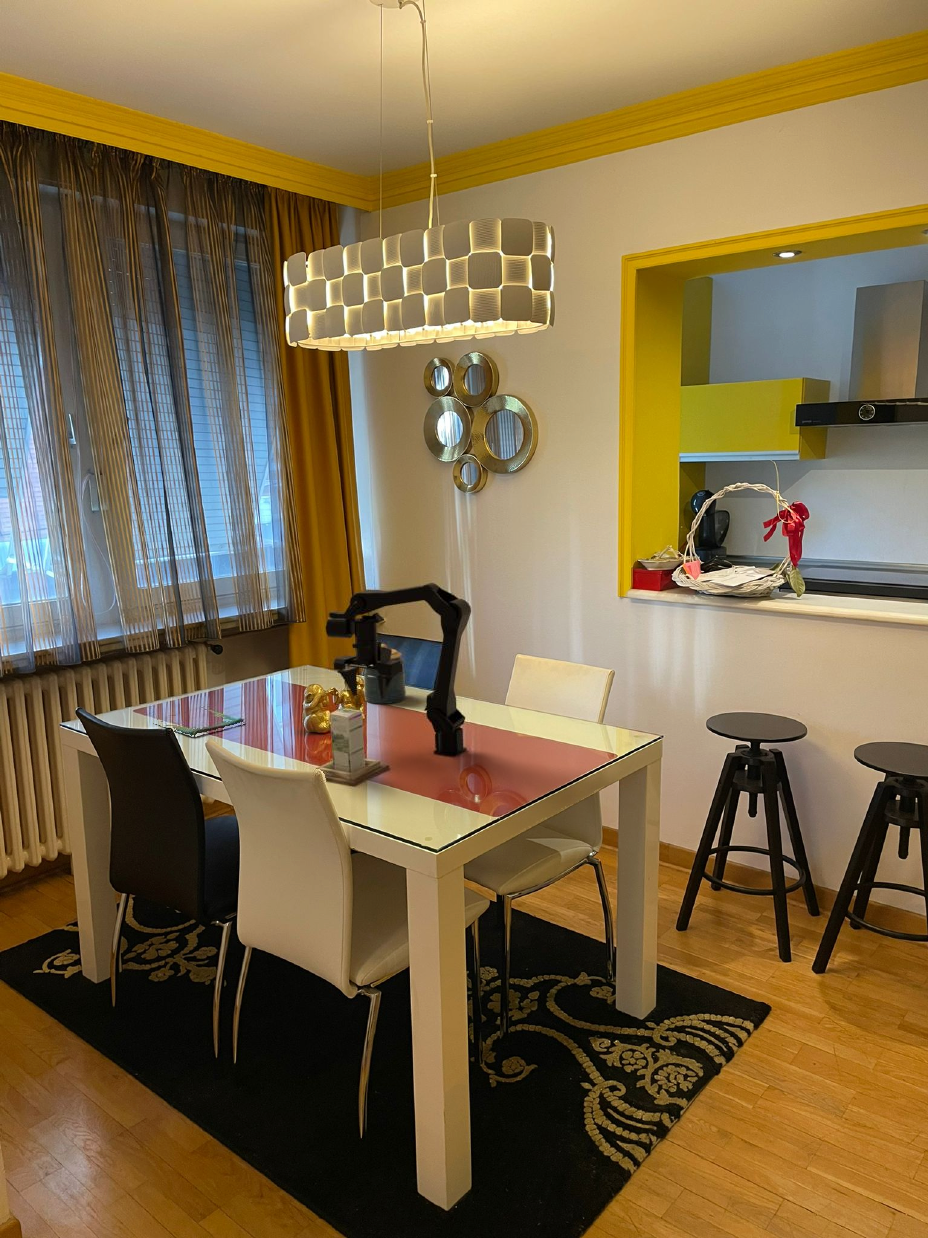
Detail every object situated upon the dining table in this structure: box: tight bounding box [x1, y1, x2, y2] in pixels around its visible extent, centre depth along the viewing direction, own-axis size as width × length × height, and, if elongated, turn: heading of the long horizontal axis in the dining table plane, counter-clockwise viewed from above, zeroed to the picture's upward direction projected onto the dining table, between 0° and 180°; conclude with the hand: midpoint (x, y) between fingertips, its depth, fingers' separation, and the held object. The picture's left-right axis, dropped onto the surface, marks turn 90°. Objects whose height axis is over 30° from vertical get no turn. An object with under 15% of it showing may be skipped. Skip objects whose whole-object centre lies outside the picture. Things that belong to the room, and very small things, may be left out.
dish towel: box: [156, 707, 245, 736], centre depth 267 cm, size 17×23×2 cm
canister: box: [362, 643, 407, 705], centre depth 287 cm, size 13×13×18 cm
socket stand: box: [315, 758, 390, 787], centre depth 221 cm, size 14×14×2 cm
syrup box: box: [329, 707, 366, 773], centre depth 220 cm, size 6×6×14 cm
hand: (369, 697), depth 240 cm, fingers open, 9 cm apart
